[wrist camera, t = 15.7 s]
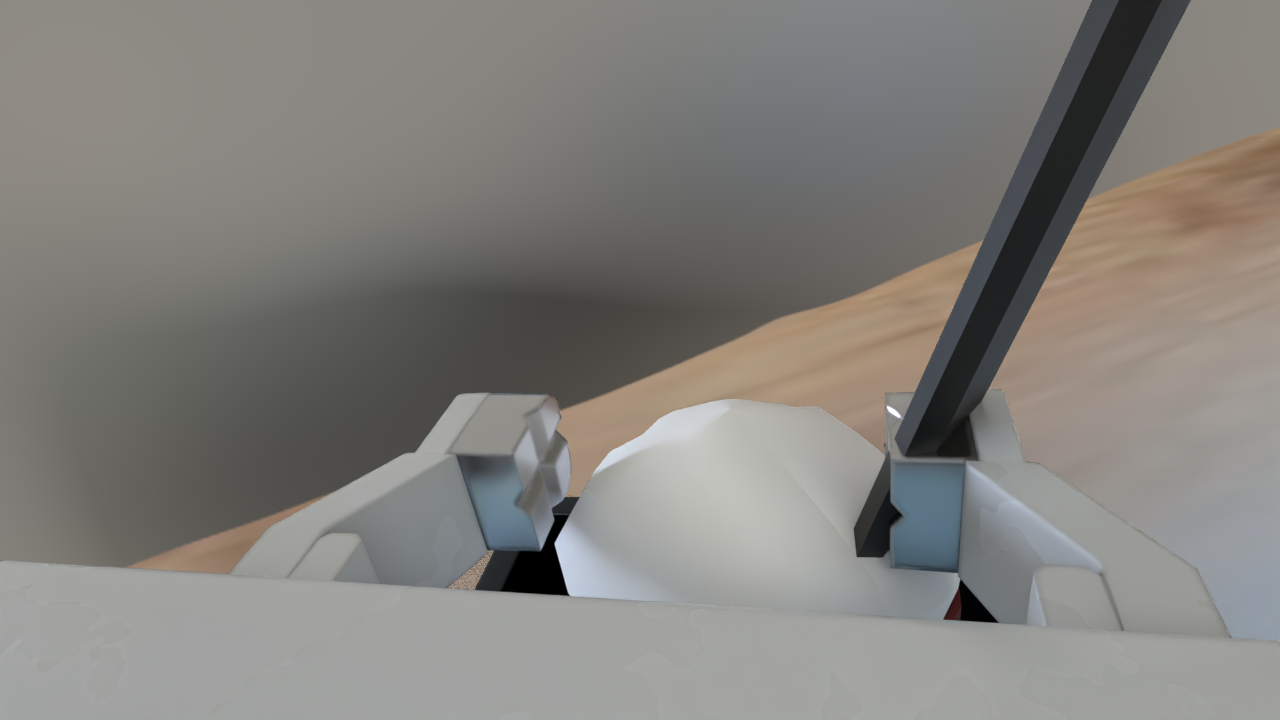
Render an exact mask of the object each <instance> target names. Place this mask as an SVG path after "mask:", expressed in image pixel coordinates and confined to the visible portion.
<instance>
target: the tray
mask: <svg viewBox="0 0 1280 720" xmlns="http://www.w3.org/2000/svg"><path fill="white" fill-rule="evenodd" d="M579 498H580V497H564V500H563V501H561V502H560V503H558V504H557V505H556V506H554V507H553V508H551V509H552V513H553V517H554V522H553V525H552V527H551V529H550V531H549V534H548V536H547V538H546V540H545V543H544V545H543V547H542V549H541V551H500V550H494V552H493V554H492V556H491V558H490V560H489V562H488V564H487V566H486V568H485V570H484V572H483V574H482V576H481V578H480V580H479V582H478V584H477V586H476V588H475V590H482V591H497V592H513V593H529V594H545V595H561V596H570V595H569V593H568V591H567V587H566V584H565V580H564V577H563V573H562V569H561V566H560V562H559V559H558V555H557V551H556V548H555V544H554V543H555V541H556V540H557V538H558V536H559V534H560V532H561V530H562V529H563V527H564V525H565V523H566V521H567V519H568V518H569V516H570V514H571V512H572V510H573V508H574V507H575V505H576V503H577V501H578V499H579ZM959 592H960V599H961V617H960V621H973V622H989V623H999V622H998V621H997V620H996V619H995V618H994V617H993V616H992V614H991V613H990V612H989V611H988V610H987V609H986V608H985V606H984V605H983V604H982V603H981V602H980V601H979V600H978V598H977V597H976V596H975V595H974V594H973V593H972V592H971V590H970V589H969V588H968V587H967V586H966V585H965V584H964V582H963V581H962V580H961V579H960V583H959Z"/></svg>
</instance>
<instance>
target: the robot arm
mask: <svg viewBox="0 0 1280 720" xmlns="http://www.w3.org/2000/svg"><path fill="white" fill-rule="evenodd" d="M914 394H915V392H905V393H885V405H884V422H885V438H886V443H885V444H884V460H885V458H886V456H887V454H888V451H889V456H890V501H891V503H892V504H893V505H894V506H895V507H896V509H897V510H898V512H897V513H896V514H895V515H894V516H893V517H892V518H891V519H890V520H889V559H890V568H894V569H908V570H921V571H935V572H949V573H958V577H959V578H960V579H961V580H962V581H963V582H964V584H965V585H966V586H967V587H968V588H969V589H970V590H971V592H972V593H973V594H974V595H975V596H976V597H977V598H978V600H979V601H980V602H981V603H982V604H983V605H984V606H985V608H986V609H987V610H988V611H989V612H990V613H991V614H992V616H993V617H994V618H995V619H996V620H997V621H998V622H999V623H989V622H973V621H957V620H941V619H925V618H910V617H894V616H878V615H862V614H846V613H830V612H814V611H798V610H782V609H766V608H750V607H735V606H719V605H703V604H687V603H671V602H655V601H640V600H624V599H608V598H592V597H576V596H561V595H545V594H529V593H513V592H497V591H482V590H466V589H450V588H448V587H449V586H450V585H451V584H452V583H454V582H455V581H456V580H457V579H458V578H459V577H461V576H462V575H463V574H464V573H465V572H466V571H468V570H469V569H470V568H471V567H472V566H473V565H475V564H476V563H477V562H478V561H479V560H480V559H482V558H483V557H484V556H485V555H486V554H487V553H488V551H487V550H500V551H541V549H542V547H543V545H544V543H545V540H546V538H547V536H548V534H549V531H550V529H551V527H552V525H553V522H554V517H553V513H552V509H551V508H553V507H554V506H556V505H557V504H558V503H560V502H561V501H563V500H564V497H565V495H566V492H567V490H568V487H569V481H570V474H571V459H570V451H569V447H568V442H567V440H566V439H565V438H564V437H563V436H562V435H561V434H559V433H558V432H557V431H556V428H557V426H558V424H559V422H560V420H561V418H562V417H561V414H560V410H559V407H558V403H557V399H555V398H554V397H553V396H552V395H551V394H513V393H512V394H511V393H493V394H490V393H464V394H461V395H457V396H456V398H455V399H454V400H453V402H452V403H451V405H450V406H449V407H448V409H447V410H446V411H445V413H444V414H443V416H442V417H441V418H440V420H439V421H438V422H437V424H436V425H435V426H434V428H433V429H432V431H431V432H430V433H429V435H428V436H427V437H426V439H425V440H424V441H423V443H422V444H421V446H420V447H419V448H418V450H417V451H416V452H415V453H405V454H403V455H402V456H400V457H398V458H396V459H394V460H392V461H390V462H389V463H387V464H385V465H383V466H381V467H379V468H378V469H376V470H374V471H372V472H370V473H368V474H366V475H365V476H363V477H361V478H359V479H357V480H355V481H354V482H352V483H350V484H348V485H346V486H344V487H342V488H341V489H339V490H337V491H335V492H333V493H331V494H329V495H328V496H326V497H324V498H322V499H320V500H318V501H317V502H315V503H313V504H311V505H309V506H307V507H305V508H304V509H302V510H300V511H298V512H296V513H294V514H293V515H291V516H289V517H287V518H285V519H283V520H281V521H280V522H278V523H276V524H274V525H272V526H270V527H269V528H268V529H267V530H266V531H265V533H264V534H263V535H262V536H261V537H260V538H259V539H258V541H257V542H256V543H255V544H254V545H253V546H252V548H251V549H250V550H249V551H248V552H247V553H246V554H245V556H244V557H243V558H242V559H241V560H240V561H239V563H238V564H237V565H236V566H235V567H234V568H233V569H232V571H231V572H230V573H229V574H213V573H197V572H181V571H166V570H150V569H134V568H118V567H102V566H86V565H69V564H54V563H37V562H23V561H7V560H0V720H1280V641H1272V640H1256V639H1240V638H1232V637H1231V635H1230V634H1229V632H1228V630H1227V628H1226V626H1225V624H1224V622H1223V620H1222V618H1221V616H1220V614H1219V612H1218V610H1217V608H1216V606H1215V604H1214V602H1213V600H1212V598H1211V596H1210V594H1209V592H1208V590H1207V588H1206V586H1205V584H1204V582H1203V580H1202V578H1201V576H1200V574H1199V572H1198V570H1197V569H1196V568H1195V567H1193V566H1192V565H1190V564H1189V563H1187V562H1186V561H1184V560H1183V559H1181V558H1180V557H1178V556H1177V555H1175V554H1174V553H1172V552H1171V551H1169V550H1168V549H1167V548H1165V547H1164V546H1162V545H1161V544H1159V543H1158V542H1156V541H1155V540H1153V539H1152V538H1150V537H1149V536H1147V535H1146V534H1144V533H1143V532H1141V531H1140V530H1138V529H1137V528H1135V527H1134V526H1132V525H1131V524H1129V523H1128V522H1126V521H1125V520H1123V519H1122V518H1120V517H1119V516H1117V515H1116V514H1114V513H1113V512H1111V511H1110V510H1108V509H1107V508H1105V507H1104V506H1102V505H1101V504H1099V503H1098V502H1096V501H1095V500H1093V499H1092V498H1090V497H1089V496H1087V495H1086V494H1084V493H1083V492H1082V491H1080V490H1079V489H1077V488H1076V487H1074V486H1073V485H1071V484H1070V483H1068V482H1067V481H1065V480H1064V479H1062V478H1061V477H1059V476H1058V475H1056V474H1055V473H1053V472H1052V471H1050V470H1049V469H1047V468H1046V467H1044V466H1043V465H1041V464H1040V463H1038V462H1026V459H1025V456H1024V453H1023V449H1022V446H1021V443H1020V440H1019V437H1018V433H1017V430H1016V427H1015V424H1014V421H1013V418H1012V414H1011V411H1010V408H1009V405H1008V402H1007V398H1006V395H1005V392H1003V391H1002V390H1001V389H988V390H987V392H986V394H985V396H984V398H983V400H982V401H981V402H980V403H979V404H978V406H977V407H976V408H975V409H974V410H973V411H972V412H971V413H970V414H969V416H968V417H967V418H966V419H965V420H964V421H963V422H962V423H961V424H960V426H959V427H958V428H957V429H956V430H955V431H954V432H953V433H952V434H951V435H950V436H949V438H948V439H947V440H946V441H945V442H944V443H943V444H942V445H941V446H940V448H939V449H938V450H937V451H936V452H929V453H922V454H915V455H908V456H904V454H903V453H902V451H901V449H900V448H899V446H898V444H897V442H896V441H895V439H894V438H895V436H896V434H897V431H898V429H899V427H900V425H901V423H902V420H903V418H904V416H905V414H906V412H907V409H908V407H909V405H910V403H911V400H912V398H913V396H914Z"/></svg>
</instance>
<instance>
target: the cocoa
mask: <svg viewBox="0 0 1280 720" xmlns="http://www.w3.org/2000/svg"><path fill="white" fill-rule="evenodd" d="M1190 1H1191V0H1092V2H1091V4H1090V7H1089V9H1088V11H1087V13H1086V15H1085V18H1084V20H1083V22H1082V24H1081V26H1080V29H1079V31H1078V33H1077V35H1076V38H1075V40H1074V42H1073V44H1072V47H1071V49H1070V51H1069V53H1068V55H1067V58H1066V60H1065V62H1064V64H1063V66H1062V69H1061V71H1060V73H1059V75H1058V77H1057V80H1056V82H1055V84H1054V86H1053V88H1052V91H1051V93H1050V95H1049V97H1048V100H1047V102H1046V104H1045V106H1044V108H1043V111H1042V113H1041V115H1040V118H1039V120H1038V122H1037V124H1036V126H1035V128H1034V130H1033V133H1032V135H1031V137H1030V139H1029V142H1028V144H1027V146H1026V148H1025V150H1024V153H1023V155H1022V157H1021V159H1020V161H1019V164H1018V166H1017V168H1016V170H1015V173H1014V175H1013V177H1012V179H1011V182H1010V184H1009V186H1008V188H1007V190H1006V193H1005V195H1004V197H1003V199H1002V201H1001V204H1000V206H999V208H998V210H997V212H996V215H995V217H994V219H993V221H992V224H991V226H990V228H989V230H988V232H987V234H986V237H985V239H984V241H983V243H982V246H981V248H980V250H979V252H978V254H977V257H976V259H975V261H974V263H973V265H972V268H971V270H970V272H969V274H968V277H967V279H966V281H965V283H964V285H963V288H962V290H961V292H960V294H959V296H958V299H957V301H956V303H955V305H954V308H953V310H952V312H951V314H950V316H949V319H948V321H947V323H946V325H945V327H944V330H943V332H942V334H941V336H940V338H939V341H938V343H937V345H936V347H935V350H934V352H933V354H932V356H931V358H930V361H929V363H928V365H927V367H926V369H925V372H924V374H923V376H922V378H921V381H920V383H919V385H918V387H917V389H916V392H915V394H914V396H913V398H912V400H911V403H910V405H909V407H908V409H907V412H906V414H905V416H904V418H903V420H902V423H901V425H900V427H899V429H898V431H897V434H896V436H895V438H894V439H895V441H896V442H897V444H898V446H899V448H900V449H901V451H902V453H903V454H904V456H908V455H915V454H922V453H929V452H936V451H937V450H938V449H939V448H940V446H941V445H942V444H943V443H944V442H945V441H946V440H947V439H948V438H949V436H950V435H951V434H952V433H953V432H954V431H955V430H956V429H957V428H958V427H959V426H960V424H961V423H962V422H963V421H964V420H965V419H966V418H967V417H968V416H969V414H970V413H971V412H972V411H973V410H974V409H975V408H976V407H977V406H978V404H979V403H980V402H981V401H982V400H983V398H984V396H985V394H986V392H987V390H988V388H989V386H990V384H991V382H992V381H993V379H994V377H995V375H996V373H997V371H998V369H999V367H1000V365H1001V363H1002V361H1003V359H1004V357H1005V356H1006V354H1007V352H1008V350H1009V348H1010V346H1011V344H1012V342H1013V340H1014V338H1015V336H1016V334H1017V333H1018V331H1019V329H1020V327H1021V325H1022V323H1023V321H1024V319H1025V317H1026V315H1027V313H1028V311H1029V310H1030V308H1031V306H1032V304H1033V302H1034V300H1035V298H1036V296H1037V294H1038V292H1039V290H1040V288H1041V287H1042V285H1043V283H1044V281H1045V279H1046V277H1047V275H1048V273H1049V271H1050V269H1051V267H1052V265H1053V264H1054V262H1055V260H1056V258H1057V256H1058V254H1059V252H1060V250H1061V248H1062V246H1063V244H1064V242H1065V240H1066V239H1067V237H1068V235H1069V233H1070V231H1071V229H1072V227H1073V225H1074V223H1075V221H1076V219H1077V217H1078V216H1079V214H1080V212H1081V210H1082V208H1083V206H1084V204H1085V202H1086V200H1087V198H1088V196H1089V194H1090V193H1091V191H1092V189H1093V187H1094V185H1095V183H1096V181H1097V179H1098V177H1099V175H1100V173H1101V171H1102V169H1103V168H1104V166H1105V164H1106V162H1107V160H1108V158H1109V156H1110V154H1111V152H1112V150H1113V148H1114V146H1115V144H1116V143H1117V141H1118V139H1119V137H1120V135H1121V133H1122V131H1123V129H1124V127H1125V125H1126V123H1127V122H1128V120H1129V118H1130V116H1131V114H1132V112H1133V110H1134V108H1135V106H1136V104H1137V102H1138V100H1139V98H1140V97H1141V95H1142V93H1143V91H1144V89H1145V87H1146V85H1147V83H1148V81H1149V79H1150V77H1151V76H1152V73H1153V72H1154V70H1155V68H1156V66H1157V64H1158V62H1159V60H1160V58H1161V56H1162V54H1163V52H1164V51H1165V48H1166V47H1167V45H1168V42H1169V41H1170V39H1171V37H1172V35H1173V33H1174V31H1175V29H1176V27H1177V26H1178V24H1179V22H1180V20H1181V18H1182V16H1183V14H1184V12H1185V10H1186V8H1187V6H1188V4H1189V3H1190ZM897 512H898V510H897V509H896V507H895V506H894V505H893V504H892V503H891V501H890V456H889V451H888V454H887V456H886V458H885V460H884V454H883V453H882V452H880V451H879V450H878V449H877V448H876V447H874V446H873V445H872V444H871V443H869V442H868V441H867V440H866V439H864V438H863V437H862V436H861V435H859V434H858V433H857V432H855V431H854V430H852V429H851V428H849V427H848V426H846V425H845V424H843V423H842V422H840V421H839V420H837V419H836V418H834V417H833V416H831V415H830V414H829V413H827V412H826V411H824V410H823V409H821V408H820V407H818V406H811V407H791V406H787V405H783V404H777V403H765V402H755V401H748V400H742V399H724V400H719V401H712V402H708V403H704V404H700V405H696V406H692V407H688V408H684V409H680V410H676V411H673V412H671V413H669V414H667V415H665V416H663V417H661V418H659V419H658V420H657V421H656V422H655V423H654V424H653V425H652V426H651V427H650V428H649V429H648V430H647V431H646V432H645V433H644V434H643V435H641V436H639V437H637V438H635V439H633V440H631V441H629V442H628V443H626V444H624V445H622V446H620V447H618V448H616V449H614V450H612V451H610V452H609V453H608V455H607V456H606V457H605V458H604V460H603V461H602V462H601V463H600V465H599V466H598V467H597V469H596V470H595V471H594V473H593V475H592V476H591V478H590V480H589V482H588V483H587V485H586V487H585V488H584V490H583V492H582V494H581V496H580V498H579V499H578V501H577V503H576V505H575V507H574V508H573V510H572V512H571V514H570V516H569V518H568V519H567V521H566V523H565V525H564V527H563V529H562V530H561V532H560V534H559V536H558V538H557V540H556V541H555V543H554V544H555V548H556V551H557V555H558V559H559V562H560V566H561V569H562V573H563V577H564V580H565V584H566V587H567V591H568V593H569V595H570V596H576V597H592V598H608V599H624V600H640V601H655V602H671V603H687V604H703V605H719V606H735V607H750V608H766V609H782V610H798V611H814V612H830V613H846V614H862V615H878V616H894V617H910V618H925V619H941V620H957V621H960V617H961V599H960V592H959V583H960V578H959V577H958V573H949V572H935V571H921V570H908V569H894V568H890V559H889V520H890V519H891V518H892V517H893V516H894V515H895V514H896V513H897Z"/></svg>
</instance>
